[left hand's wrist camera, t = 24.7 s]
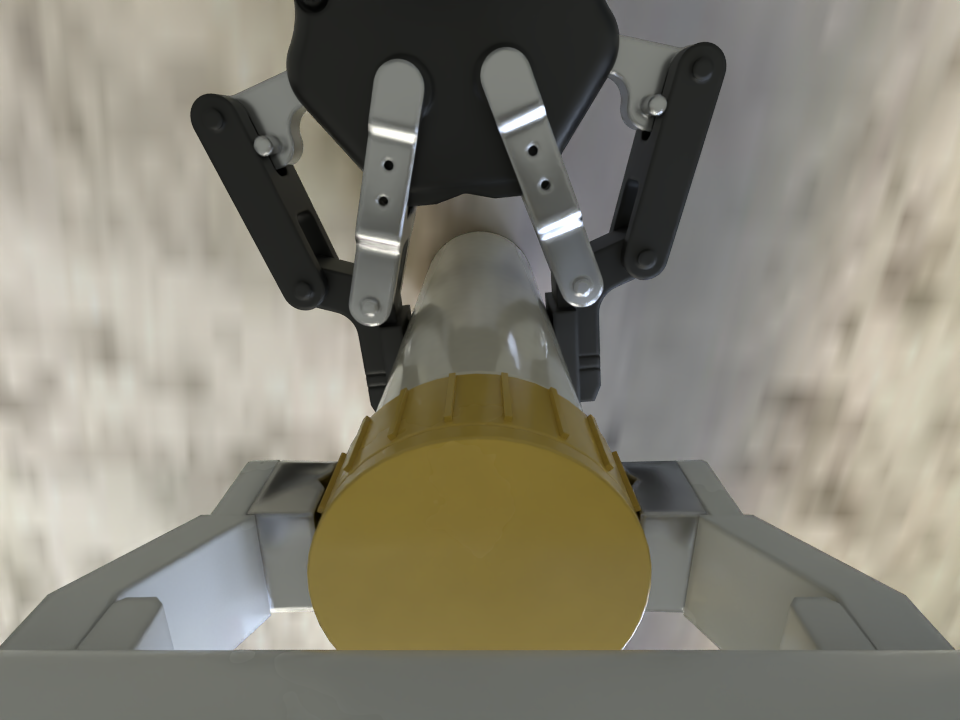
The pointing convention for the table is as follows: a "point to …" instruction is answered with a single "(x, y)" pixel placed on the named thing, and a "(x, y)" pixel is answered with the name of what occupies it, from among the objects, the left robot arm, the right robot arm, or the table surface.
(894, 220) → the table surface
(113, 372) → the table surface
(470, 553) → the lid
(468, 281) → the jar
